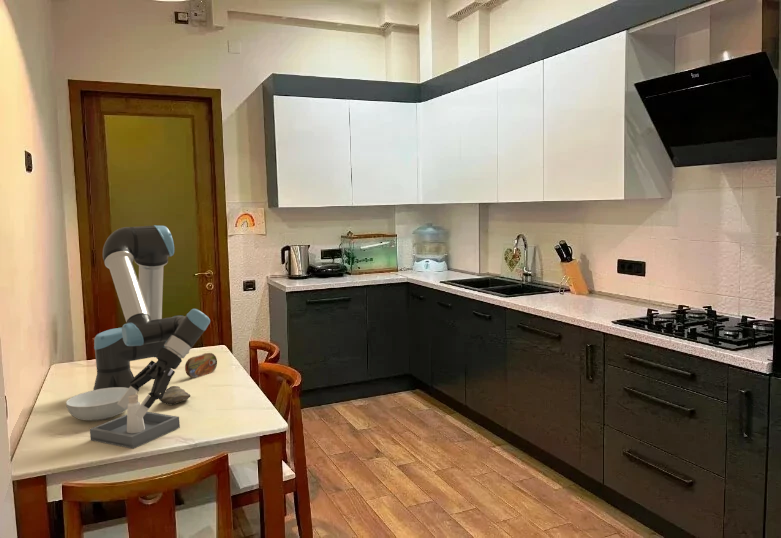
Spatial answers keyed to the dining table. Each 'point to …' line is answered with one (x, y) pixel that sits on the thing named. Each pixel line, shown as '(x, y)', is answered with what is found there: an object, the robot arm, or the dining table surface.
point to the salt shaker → (134, 416)
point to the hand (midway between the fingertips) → (128, 411)
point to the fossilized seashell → (174, 395)
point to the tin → (201, 365)
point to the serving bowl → (97, 404)
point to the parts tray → (118, 435)
